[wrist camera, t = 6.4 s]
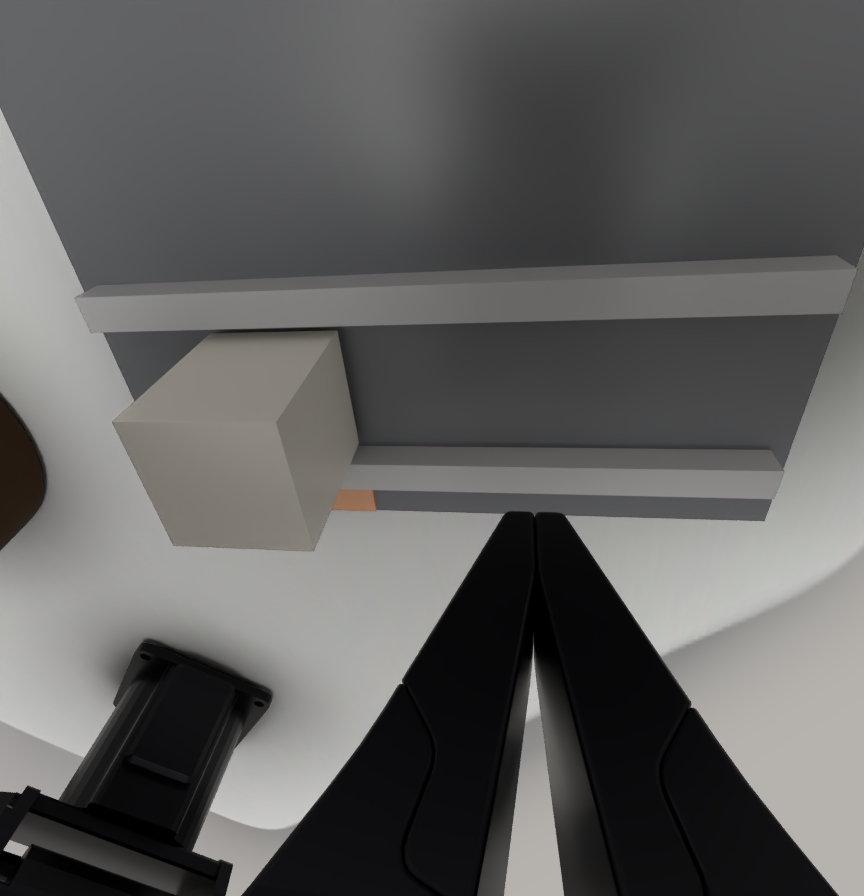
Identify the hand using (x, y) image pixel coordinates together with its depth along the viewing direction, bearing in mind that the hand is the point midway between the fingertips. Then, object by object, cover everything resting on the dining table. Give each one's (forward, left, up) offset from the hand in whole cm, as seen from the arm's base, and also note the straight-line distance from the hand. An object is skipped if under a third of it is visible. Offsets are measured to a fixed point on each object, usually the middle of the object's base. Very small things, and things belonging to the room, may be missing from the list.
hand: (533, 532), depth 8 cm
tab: (-3, +5, -5) cm, 7 cm away
